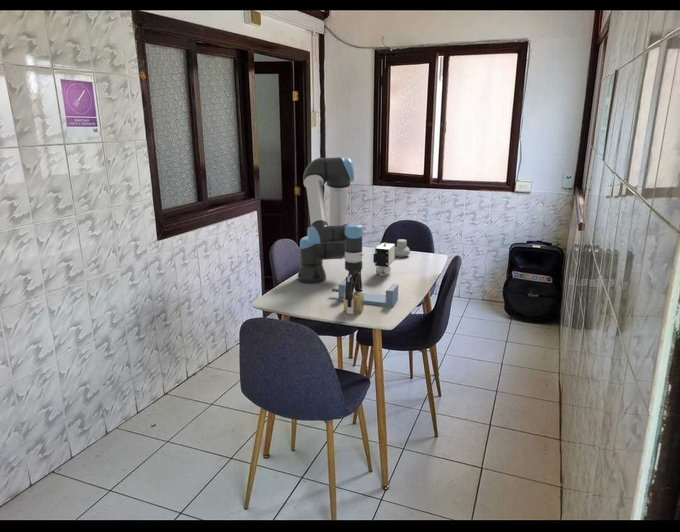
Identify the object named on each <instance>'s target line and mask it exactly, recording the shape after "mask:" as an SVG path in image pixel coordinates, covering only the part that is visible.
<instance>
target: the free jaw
mask: <svg viewBox="0 0 680 532" xmlns="http://www.w3.org/2000/svg"><path fill="white" fill-rule="evenodd" d="M337 286H338V287H337V288H335V287H334V288H333V287H332V289H331V292H334V293H338V298H339V297H344V293H345V289H346V278H344V279H343V280H342V281H341V282H340V283H338V285H337Z"/></svg>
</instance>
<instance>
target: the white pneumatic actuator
mask: <svg viewBox="0 0 680 532" xmlns="http://www.w3.org/2000/svg"><path fill="white" fill-rule="evenodd" d="M395 247H396V243H390V242H382V243H381V244H379V245H378V244H377V245H376V246H375V248H374V250H375V251H374V253H373V263H374V266H375V267H376V268H375V273H376V274H378V275H380V277H386V276H388V274H390V272H391V265H392V264H393V263H394V262H395V261H396V259H395V258H396V255H395Z"/></svg>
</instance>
